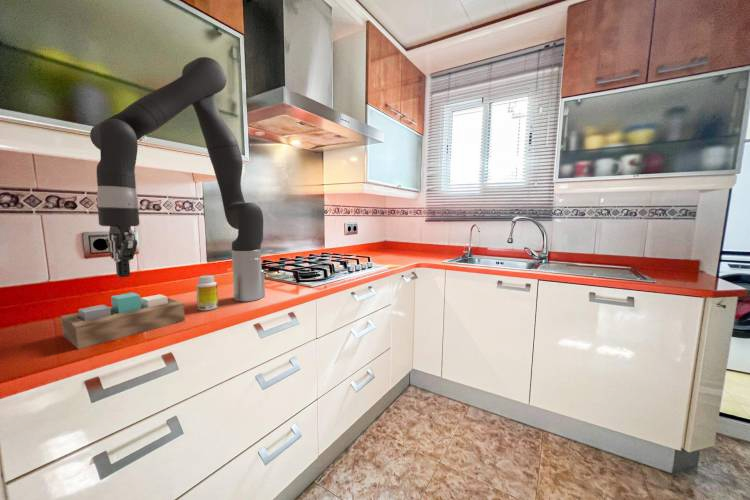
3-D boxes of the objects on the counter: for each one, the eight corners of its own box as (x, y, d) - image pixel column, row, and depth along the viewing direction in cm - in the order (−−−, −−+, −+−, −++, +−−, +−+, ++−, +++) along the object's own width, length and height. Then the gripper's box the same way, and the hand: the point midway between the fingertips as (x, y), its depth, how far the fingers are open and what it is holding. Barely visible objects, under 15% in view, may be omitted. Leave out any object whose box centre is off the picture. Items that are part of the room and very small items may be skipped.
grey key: (105, 320, 73) (103, 304, 72) (111, 323, 70) (110, 307, 70) (80, 325, 69) (78, 309, 68) (86, 329, 66) (84, 312, 66)
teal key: (134, 307, 77) (133, 292, 77) (141, 310, 75) (140, 295, 75) (112, 311, 74) (111, 296, 73) (119, 315, 71) (117, 299, 71)
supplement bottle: (221, 308, 92) (219, 276, 91) (201, 312, 88) (199, 278, 87) (214, 304, 95) (213, 273, 94) (195, 308, 91) (193, 276, 90)
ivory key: (161, 308, 83) (160, 294, 82) (168, 310, 80) (167, 296, 80) (141, 312, 79) (140, 297, 78) (148, 315, 76) (147, 300, 76)
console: (164, 312, 87) (163, 296, 86) (184, 320, 80) (183, 303, 80) (63, 336, 69) (61, 316, 69) (78, 349, 63) (76, 326, 62)
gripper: (148, 207, 71) (152, 277, 73) (127, 207, 78) (131, 271, 80) (108, 205, 65) (113, 282, 67) (89, 206, 72) (94, 275, 74)
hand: (123, 276), depth 73 cm, fingers closed
